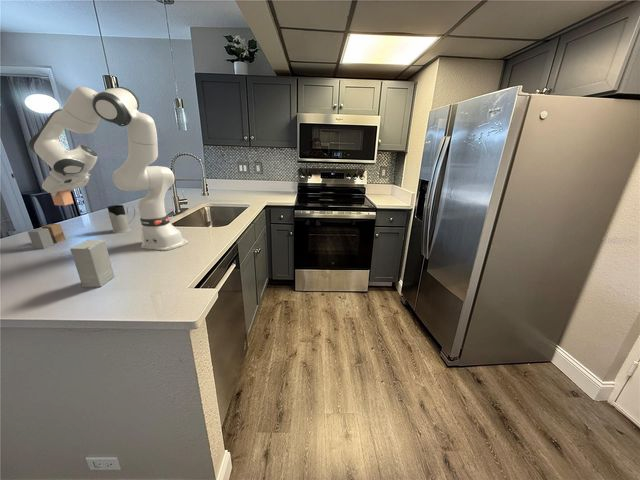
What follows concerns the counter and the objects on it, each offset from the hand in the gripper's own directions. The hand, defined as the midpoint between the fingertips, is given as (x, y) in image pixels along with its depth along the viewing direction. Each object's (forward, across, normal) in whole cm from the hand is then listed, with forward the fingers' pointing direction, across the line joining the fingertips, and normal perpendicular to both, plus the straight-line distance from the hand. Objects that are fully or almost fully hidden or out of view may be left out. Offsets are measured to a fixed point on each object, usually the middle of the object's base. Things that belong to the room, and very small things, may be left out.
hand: (59, 194), depth 128 cm
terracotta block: (+3, 0, +4) cm, 5 cm away
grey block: (+24, +8, +12) cm, 28 cm away
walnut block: (+25, 0, +11) cm, 27 cm away
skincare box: (-15, +43, +52) cm, 69 cm away
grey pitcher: (+9, -21, +27) cm, 35 cm away
